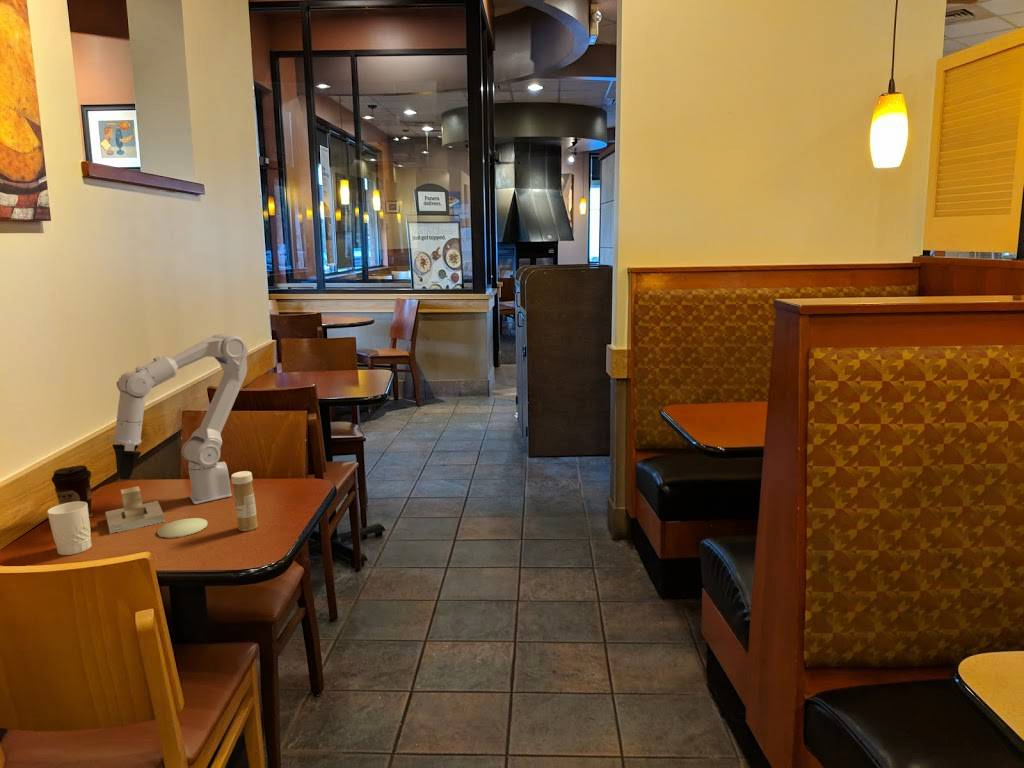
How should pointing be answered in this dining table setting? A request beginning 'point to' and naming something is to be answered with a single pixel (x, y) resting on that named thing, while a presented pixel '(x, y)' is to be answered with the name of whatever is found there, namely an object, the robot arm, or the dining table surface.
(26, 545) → the dining table surface
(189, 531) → the mat
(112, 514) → the socket block
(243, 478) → the sprinkles bottle
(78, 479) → the coffee cup
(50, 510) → the white cup
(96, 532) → the dining table surface
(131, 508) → the square peg
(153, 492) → the dining table surface
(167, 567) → the dining table surface
